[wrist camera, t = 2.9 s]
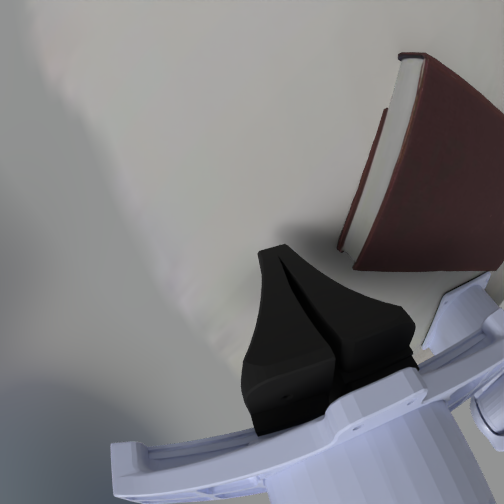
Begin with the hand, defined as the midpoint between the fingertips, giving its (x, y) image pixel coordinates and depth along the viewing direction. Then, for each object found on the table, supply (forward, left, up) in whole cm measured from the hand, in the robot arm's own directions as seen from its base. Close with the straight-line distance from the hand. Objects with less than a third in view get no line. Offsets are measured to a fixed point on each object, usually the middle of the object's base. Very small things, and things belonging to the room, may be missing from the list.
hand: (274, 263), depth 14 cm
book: (0, -16, -3) cm, 16 cm away
